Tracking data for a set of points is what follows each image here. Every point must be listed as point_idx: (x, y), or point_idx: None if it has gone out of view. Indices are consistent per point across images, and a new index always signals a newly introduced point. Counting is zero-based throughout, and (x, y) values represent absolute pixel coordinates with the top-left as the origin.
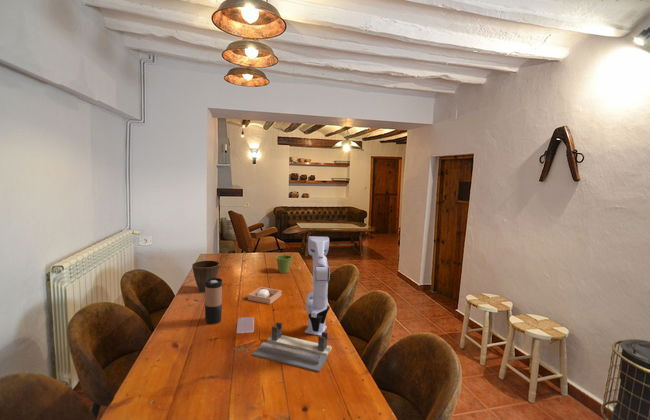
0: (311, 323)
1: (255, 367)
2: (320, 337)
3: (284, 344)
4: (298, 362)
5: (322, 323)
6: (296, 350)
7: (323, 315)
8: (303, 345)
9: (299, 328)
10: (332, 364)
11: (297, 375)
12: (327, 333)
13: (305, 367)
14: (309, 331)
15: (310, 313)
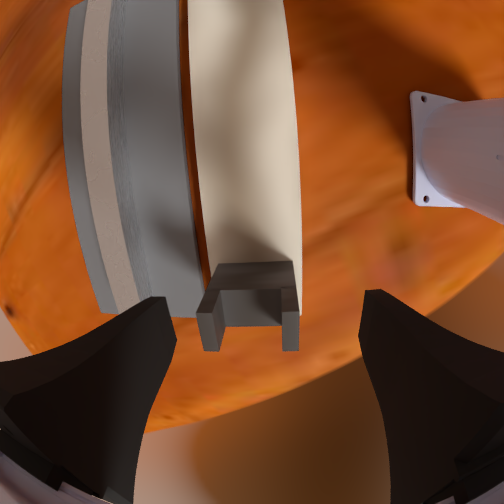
0: (81, 338)
1: (23, 82)
2: (198, 326)
3: (190, 44)
4: (88, 210)
5: (361, 326)
6: (107, 171)
7: (392, 401)
8: (227, 155)
9: (434, 53)
10: (177, 341)
11: (49, 242)
12: (288, 350)
13: (84, 255)
14: (425, 122)
15: (5, 416)
